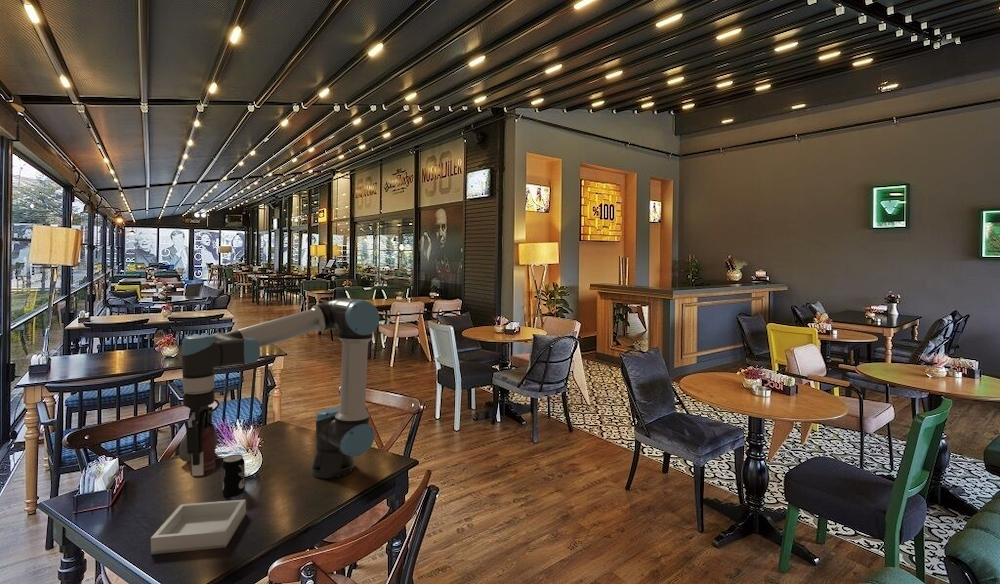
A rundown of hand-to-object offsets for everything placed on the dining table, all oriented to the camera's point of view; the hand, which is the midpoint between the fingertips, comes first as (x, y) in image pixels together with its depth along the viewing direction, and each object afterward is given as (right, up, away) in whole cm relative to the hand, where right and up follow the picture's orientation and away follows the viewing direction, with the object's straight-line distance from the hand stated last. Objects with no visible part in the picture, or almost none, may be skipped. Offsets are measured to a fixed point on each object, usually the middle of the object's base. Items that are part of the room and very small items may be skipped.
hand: (200, 471), depth 138 cm
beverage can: (-4, -16, +25) cm, 30 cm away
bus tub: (0, -18, +1) cm, 18 cm away
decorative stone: (-32, -14, +52) cm, 62 cm away
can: (0, -1, +1) cm, 2 cm away
